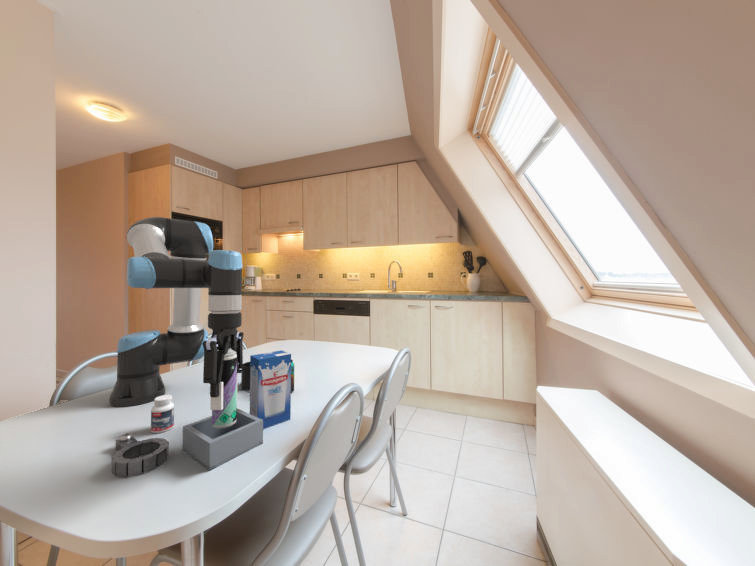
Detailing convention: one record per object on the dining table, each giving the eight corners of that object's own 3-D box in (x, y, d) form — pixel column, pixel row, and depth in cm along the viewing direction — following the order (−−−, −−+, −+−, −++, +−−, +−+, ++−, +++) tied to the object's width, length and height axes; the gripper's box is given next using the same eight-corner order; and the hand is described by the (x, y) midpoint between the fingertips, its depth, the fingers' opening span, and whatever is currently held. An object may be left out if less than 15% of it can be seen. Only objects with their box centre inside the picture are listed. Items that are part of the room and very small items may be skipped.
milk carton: (281, 412, 91) (282, 350, 91) (290, 419, 87) (291, 353, 87) (249, 423, 84) (250, 355, 84) (257, 431, 80) (258, 359, 80)
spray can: (209, 430, 68) (210, 346, 69) (214, 419, 74) (215, 342, 74) (234, 426, 70) (235, 345, 70) (238, 416, 75) (238, 340, 76)
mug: (247, 394, 106) (247, 370, 106) (238, 385, 115) (238, 363, 115) (272, 388, 112) (273, 365, 112) (262, 380, 121) (262, 359, 121)
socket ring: (96, 454, 68) (96, 442, 68) (146, 436, 76) (147, 425, 76) (120, 483, 59) (121, 469, 59) (175, 459, 67) (175, 446, 67)
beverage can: (275, 397, 104) (275, 364, 104) (274, 390, 110) (274, 359, 110) (295, 394, 106) (295, 362, 106) (292, 388, 113) (293, 357, 113)
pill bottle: (148, 435, 77) (148, 402, 77) (153, 426, 82) (153, 395, 82) (172, 431, 80) (172, 399, 80) (175, 422, 84) (175, 392, 84)
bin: (182, 450, 70) (182, 426, 70) (234, 428, 81) (234, 407, 81) (209, 470, 63) (210, 443, 63) (262, 443, 74) (263, 420, 74)
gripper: (231, 308, 82) (231, 390, 81) (184, 315, 63) (183, 420, 63) (257, 309, 81) (256, 390, 81) (216, 316, 63) (215, 422, 63)
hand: (224, 403), depth 72 cm, fingers closed on spray can, 5 cm apart
